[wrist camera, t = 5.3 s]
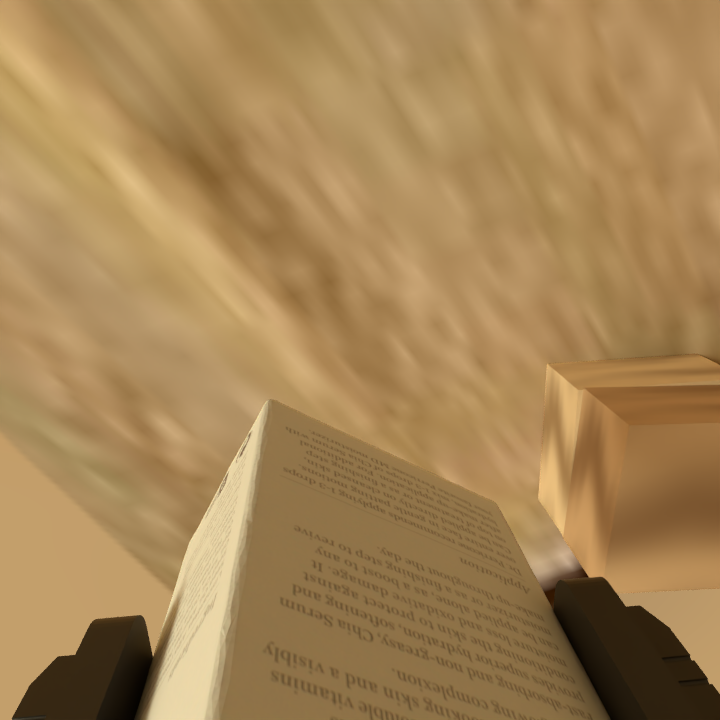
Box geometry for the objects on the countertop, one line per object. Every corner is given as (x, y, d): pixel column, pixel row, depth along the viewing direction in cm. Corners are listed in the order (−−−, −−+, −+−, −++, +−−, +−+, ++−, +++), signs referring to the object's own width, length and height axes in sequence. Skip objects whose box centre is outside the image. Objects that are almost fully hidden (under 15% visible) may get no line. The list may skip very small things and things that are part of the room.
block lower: (545, 361, 30) (578, 390, 26) (693, 351, 30) (747, 378, 27) (536, 496, 33) (565, 539, 29) (673, 485, 33) (719, 526, 29)
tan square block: (583, 387, 26) (629, 425, 22) (751, 384, 27) (823, 420, 23) (562, 537, 29) (600, 594, 25) (716, 531, 29) (775, 585, 25)
